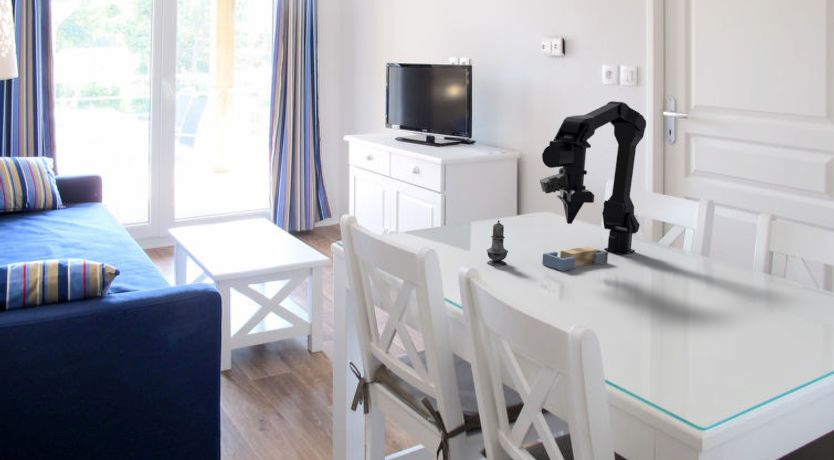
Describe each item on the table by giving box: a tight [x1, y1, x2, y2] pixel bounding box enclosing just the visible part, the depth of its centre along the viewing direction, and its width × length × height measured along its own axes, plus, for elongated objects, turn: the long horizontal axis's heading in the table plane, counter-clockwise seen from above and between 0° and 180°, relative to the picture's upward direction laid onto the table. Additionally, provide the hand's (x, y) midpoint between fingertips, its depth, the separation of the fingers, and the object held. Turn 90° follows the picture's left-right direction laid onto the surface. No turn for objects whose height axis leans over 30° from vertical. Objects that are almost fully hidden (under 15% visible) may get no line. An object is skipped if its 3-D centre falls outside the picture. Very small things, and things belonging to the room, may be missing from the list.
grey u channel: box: [592, 249, 609, 266], centre depth 244 cm, size 4×8×3 cm, turn 36°
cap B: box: [541, 251, 575, 271], centre depth 236 cm, size 4×8×3 cm, turn 36°
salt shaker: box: [486, 220, 509, 267], centre depth 238 cm, size 6×6×12 cm
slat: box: [559, 246, 599, 267], centre depth 241 cm, size 10×4×4 cm, turn 124°
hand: (569, 223), depth 236 cm, fingers closed
